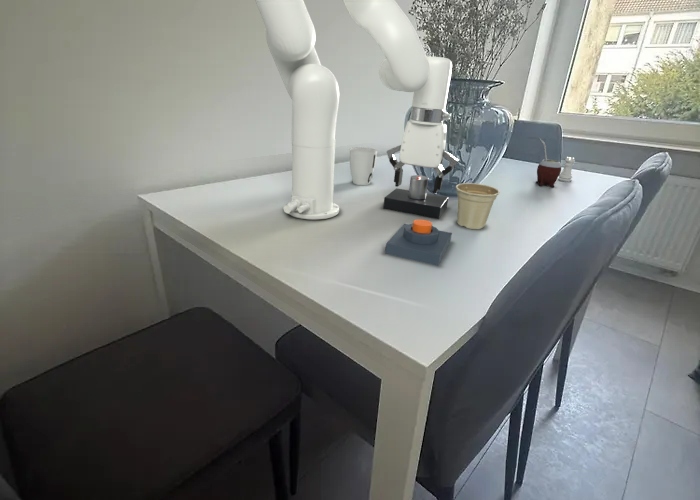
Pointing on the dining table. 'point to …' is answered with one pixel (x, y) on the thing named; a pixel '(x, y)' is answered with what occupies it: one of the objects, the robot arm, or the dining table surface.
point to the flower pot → (474, 204)
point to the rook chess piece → (567, 170)
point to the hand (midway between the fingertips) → (416, 188)
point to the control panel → (416, 204)
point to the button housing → (419, 244)
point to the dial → (418, 187)
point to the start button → (422, 226)
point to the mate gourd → (548, 170)
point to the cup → (362, 164)
